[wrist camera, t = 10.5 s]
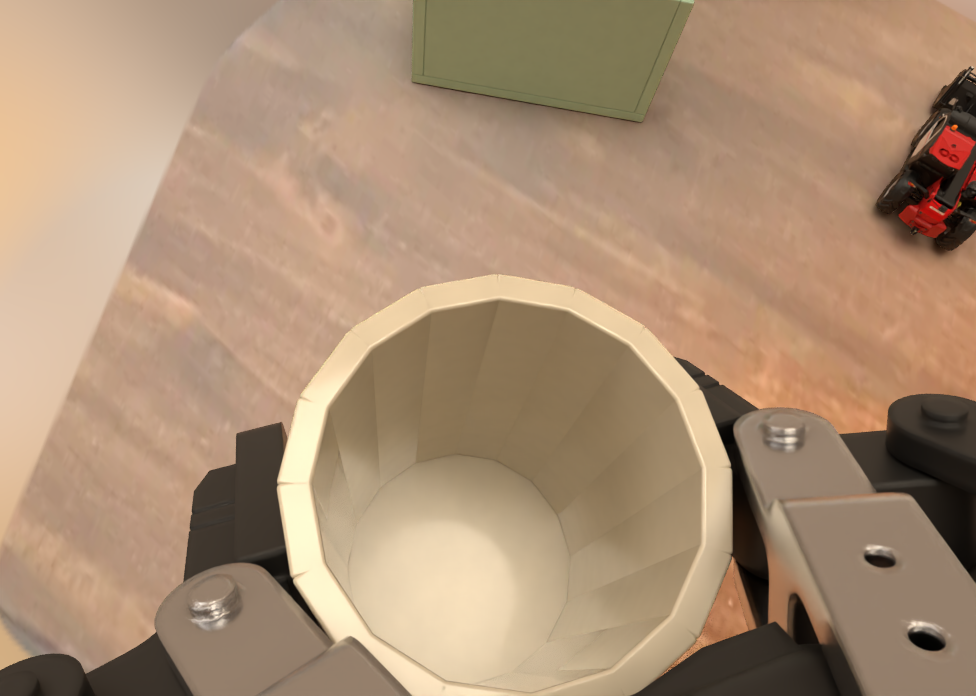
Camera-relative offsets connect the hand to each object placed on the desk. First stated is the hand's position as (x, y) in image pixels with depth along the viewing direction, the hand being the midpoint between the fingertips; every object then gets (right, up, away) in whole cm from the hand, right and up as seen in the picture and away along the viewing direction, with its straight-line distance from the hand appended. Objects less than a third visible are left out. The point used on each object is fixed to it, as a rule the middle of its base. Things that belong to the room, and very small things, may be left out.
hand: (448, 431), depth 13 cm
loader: (+25, +11, +27) cm, 38 cm away
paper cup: (0, -3, +3) cm, 5 cm away
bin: (+4, +20, +28) cm, 35 cm away
